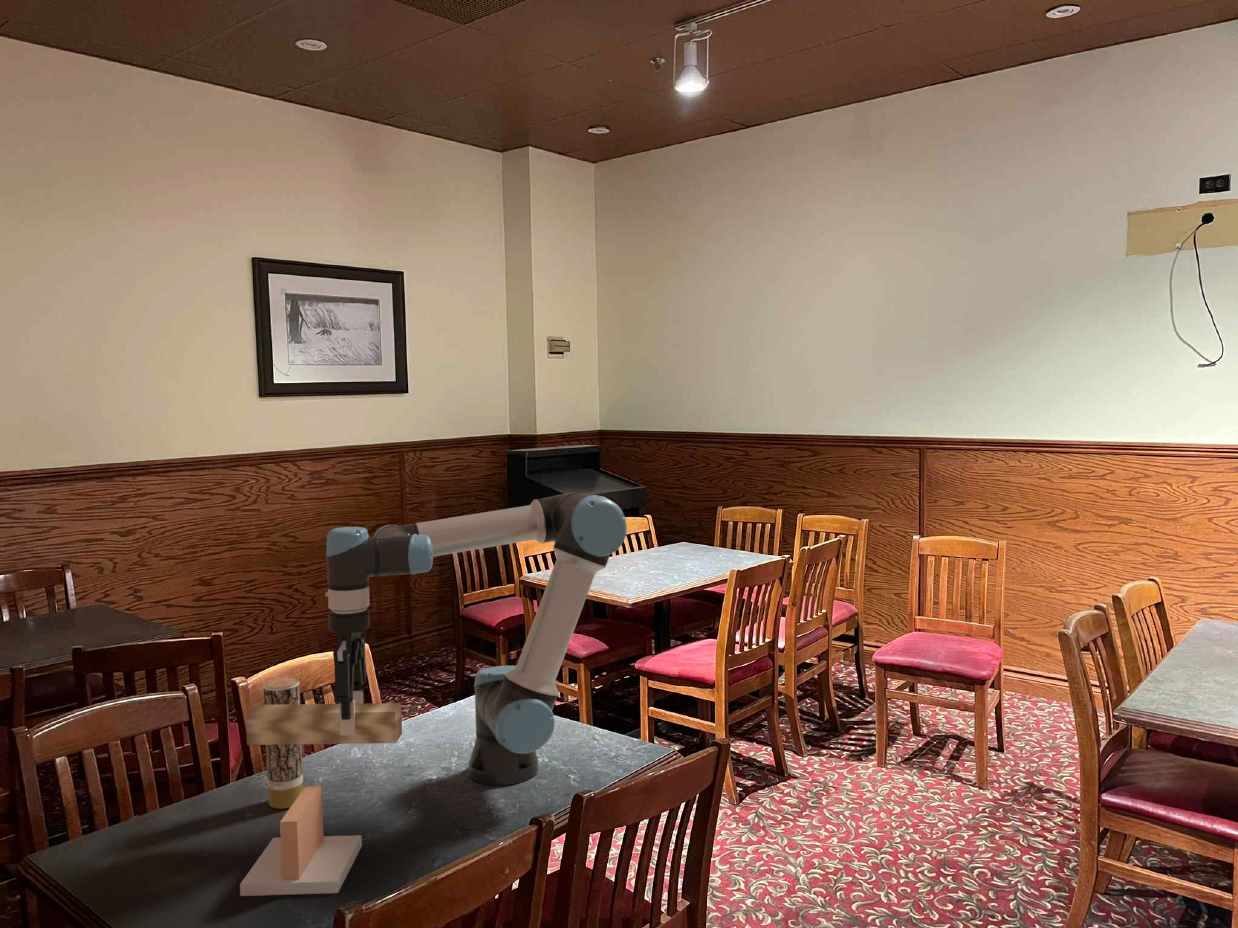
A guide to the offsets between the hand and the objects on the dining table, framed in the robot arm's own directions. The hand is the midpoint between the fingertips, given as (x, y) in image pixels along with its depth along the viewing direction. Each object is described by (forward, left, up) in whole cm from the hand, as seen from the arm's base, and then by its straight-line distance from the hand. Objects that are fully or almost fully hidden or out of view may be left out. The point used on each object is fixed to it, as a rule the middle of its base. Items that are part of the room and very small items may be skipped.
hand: (352, 728), depth 174 cm
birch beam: (+5, 0, -2) cm, 5 cm away
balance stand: (+5, +16, -19) cm, 25 cm away
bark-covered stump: (+17, -11, -19) cm, 28 cm away
